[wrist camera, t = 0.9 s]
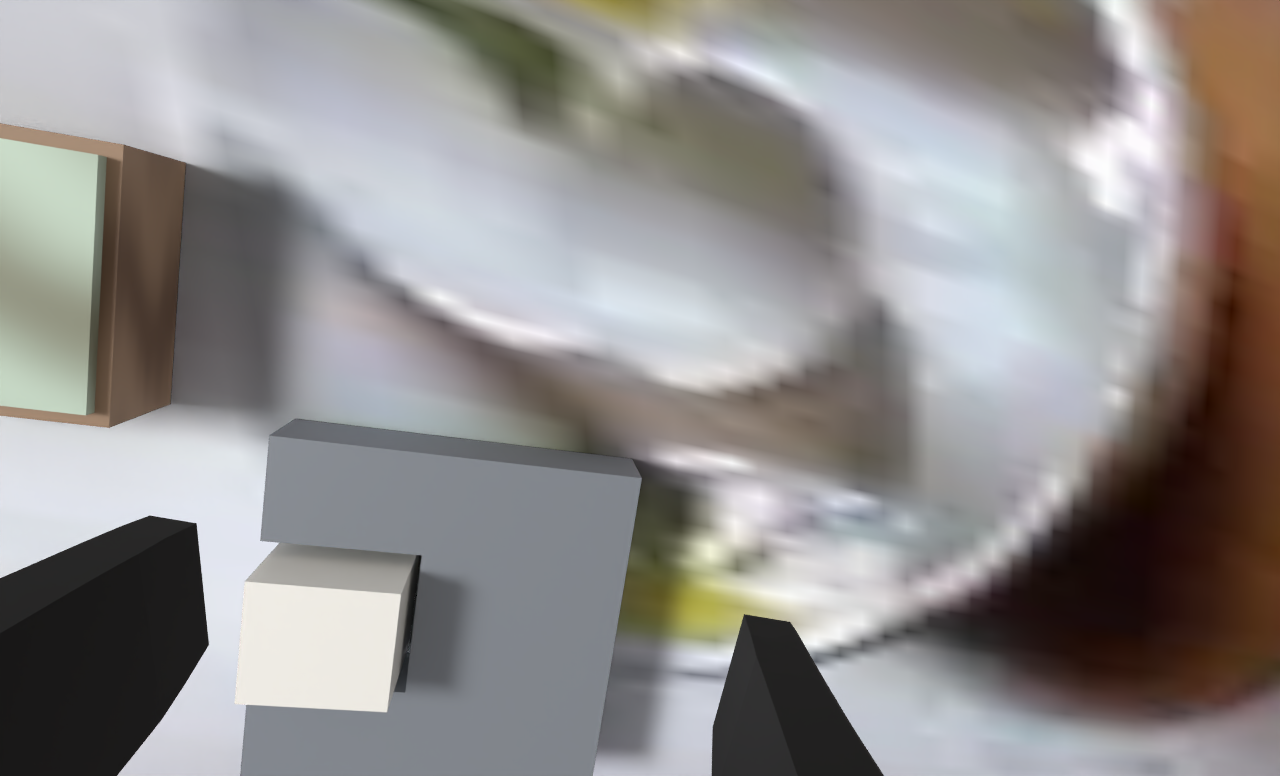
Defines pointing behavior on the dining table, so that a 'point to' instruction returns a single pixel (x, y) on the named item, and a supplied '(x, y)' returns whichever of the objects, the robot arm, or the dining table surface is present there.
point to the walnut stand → (86, 277)
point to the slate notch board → (460, 599)
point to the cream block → (325, 628)
